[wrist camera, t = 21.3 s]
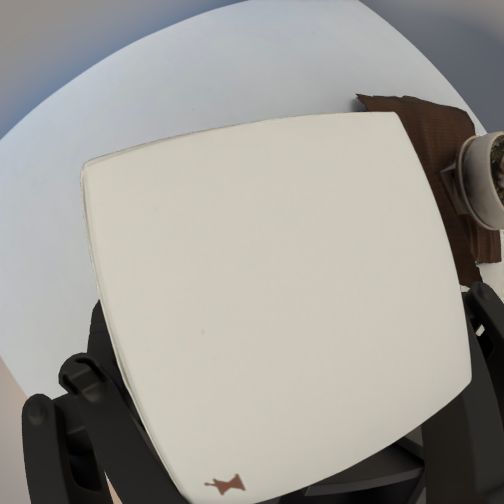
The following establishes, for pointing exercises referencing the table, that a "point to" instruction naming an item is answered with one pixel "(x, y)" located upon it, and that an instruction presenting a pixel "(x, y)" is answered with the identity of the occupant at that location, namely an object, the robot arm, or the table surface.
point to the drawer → (364, 481)
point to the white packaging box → (276, 297)
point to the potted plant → (456, 176)
